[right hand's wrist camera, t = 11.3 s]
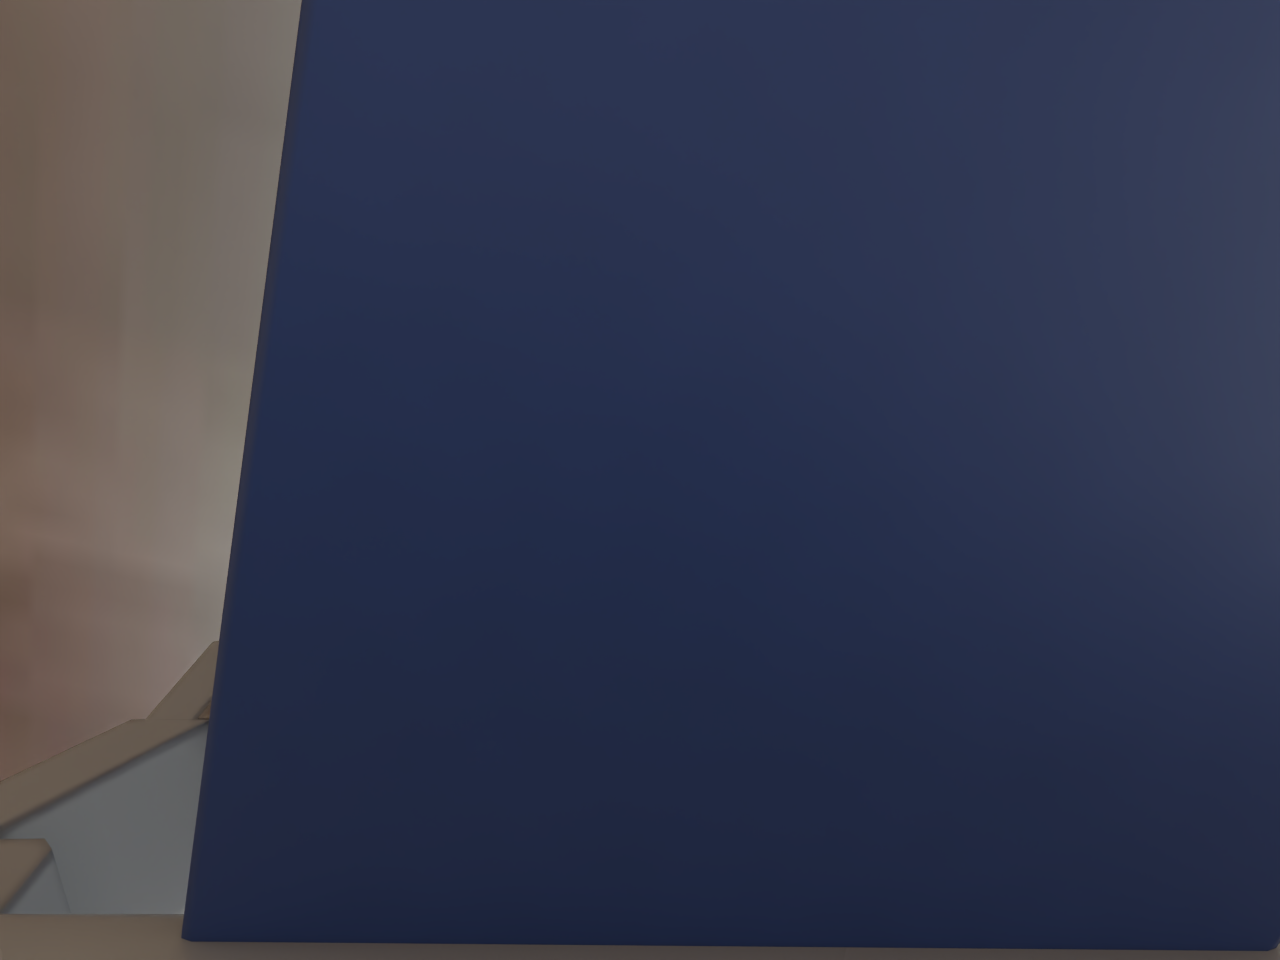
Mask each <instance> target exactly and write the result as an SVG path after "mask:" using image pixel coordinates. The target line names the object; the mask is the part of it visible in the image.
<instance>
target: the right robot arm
mask: <svg viewBox="0 0 1280 960" xmlns="http://www.w3.org/2000/svg"><path fill="white" fill-rule="evenodd" d="M218 646H219V641H215V642H213V643H212V644H211V645H210V646H209V647H208V648H207V649H206V650H205V651H204V653H203V654H202V655H201V656H200V657H199V658H198V660H197V661H196V662H195V663H194V664H193V665H192V666H191V668H190V669H189V670H188V671H187V672H186V673H185V674H184V676H183V677H182V678H181V679H180V680H179V681H178V683H177V684H176V685H175V686H174V687H173V688H172V689H171V691H170V692H169V693H168V694H167V695H166V696H165V698H164V699H163V700H162V701H161V702H160V703H159V704H158V706H157V707H156V708H155V709H154V710H153V711H152V712H151V714H150V715H149V716H148V717H147V718H146V719H141V720H129V721H127V722H125V723H123V724H121V725H119V726H117V727H115V728H113V729H110V730H108V731H106V732H104V733H102V734H100V735H98V736H96V737H94V738H91V739H89V740H87V741H85V742H83V743H81V744H79V745H77V746H74V747H72V748H70V749H68V750H66V751H64V752H62V753H60V754H58V755H55V756H53V757H51V758H49V759H47V760H45V761H43V762H41V763H39V764H36V765H34V766H32V767H30V768H28V769H26V770H24V771H22V772H20V773H17V774H15V775H13V776H11V777H9V778H7V779H5V780H3V781H1V782H0V960H1280V943H1279V945H1278V946H1277V947H1276V948H1274V949H1272V950H1269V951H1201V950H1088V949H974V948H861V947H747V946H634V945H522V944H409V943H296V942H191V941H188V940H185V939H183V938H181V935H182V925H183V917H184V910H185V902H186V894H187V886H188V879H189V871H190V863H191V856H192V848H193V840H194V832H195V825H196V817H197V809H198V801H199V794H200V786H201V778H202V770H203V763H204V755H205V747H206V739H207V732H208V724H209V716H210V708H211V701H212V693H213V685H214V677H215V670H216V662H217V654H218Z"/></svg>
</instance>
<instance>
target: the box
mask: <svg viewBox="0 0 1280 960" xmlns="http://www.w3.org/2000/svg"><path fill="white" fill-rule="evenodd" d="M181 938H183V939H185V940H188V941H191V942H296V943H409V944H522V945H634V946H747V947H861V948H974V949H1088V950H1201V951H1269V950H1272V949H1274V948H1276V947H1277V946H1278V945H1279V943H1280V0H302V4H301V11H300V19H299V27H298V35H297V42H296V50H295V58H294V66H293V73H292V81H291V89H290V97H289V104H288V112H287V120H286V128H285V135H284V143H283V151H282V159H281V166H280V174H279V182H278V189H277V197H276V205H275V213H274V220H273V228H272V236H271V244H270V251H269V259H268V267H267V275H266V282H265V290H264V298H263V306H262V313H261V321H260V329H259V337H258V344H257V352H256V360H255V368H254V375H253V383H252V391H251V399H250V406H249V414H248V422H247V430H246V437H245V445H244V453H243V461H242V468H241V476H240V484H239V492H238V499H237V507H236V515H235V523H234V530H233V538H232V546H231V553H230V561H229V569H228V577H227V584H226V592H225V600H224V608H223V615H222V623H221V631H220V639H219V646H218V654H217V662H216V670H215V677H214V685H213V693H212V701H211V708H210V716H209V724H208V732H207V739H206V747H205V755H204V763H203V770H202V778H201V786H200V794H199V801H198V809H197V817H196V825H195V832H194V840H193V848H192V856H191V863H190V871H189V879H188V886H187V894H186V902H185V910H184V917H183V925H182V935H181Z"/></svg>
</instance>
